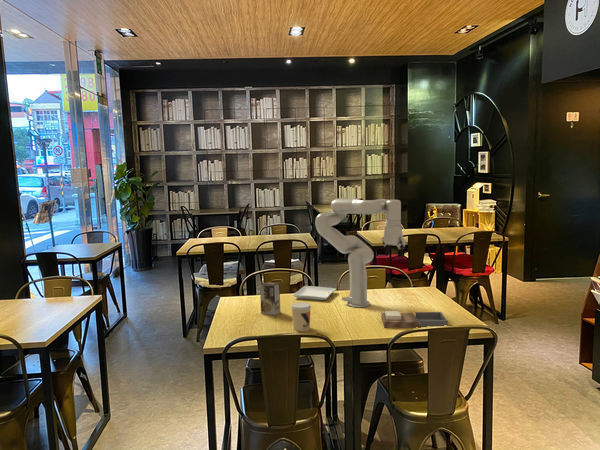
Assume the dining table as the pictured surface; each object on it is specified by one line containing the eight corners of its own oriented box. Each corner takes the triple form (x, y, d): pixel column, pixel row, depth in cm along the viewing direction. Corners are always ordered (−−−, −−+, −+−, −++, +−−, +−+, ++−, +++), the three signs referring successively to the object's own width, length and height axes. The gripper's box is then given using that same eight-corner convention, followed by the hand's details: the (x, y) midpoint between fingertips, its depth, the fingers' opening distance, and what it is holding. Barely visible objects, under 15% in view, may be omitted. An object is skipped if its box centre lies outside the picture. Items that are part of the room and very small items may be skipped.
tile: (386, 319, 233) (386, 315, 233) (385, 315, 240) (385, 311, 240) (401, 319, 232) (401, 315, 232) (399, 315, 239) (399, 311, 239)
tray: (418, 327, 229) (418, 320, 229) (413, 318, 243) (413, 312, 242) (447, 327, 228) (447, 320, 228) (440, 318, 242) (441, 311, 241)
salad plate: (326, 302, 275) (326, 297, 275) (292, 299, 282) (292, 294, 282) (336, 293, 295) (336, 287, 294) (304, 290, 302) (304, 285, 302)
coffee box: (281, 312, 258) (280, 283, 256) (275, 315, 252) (274, 285, 250) (266, 310, 262) (265, 281, 260) (260, 313, 256) (259, 284, 254)
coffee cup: (304, 333, 225) (304, 308, 223) (288, 330, 230) (287, 306, 228) (314, 327, 233) (314, 303, 231) (298, 324, 238) (297, 301, 236)
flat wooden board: (384, 328, 230) (384, 322, 229) (381, 318, 244) (381, 312, 243) (418, 327, 229) (418, 321, 229) (412, 318, 243) (413, 312, 242)
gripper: (377, 222, 256) (377, 253, 258) (400, 225, 242) (400, 258, 244) (387, 221, 260) (387, 252, 262) (410, 224, 246) (410, 256, 248)
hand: (393, 255), depth 253 cm, fingers open, 9 cm apart
